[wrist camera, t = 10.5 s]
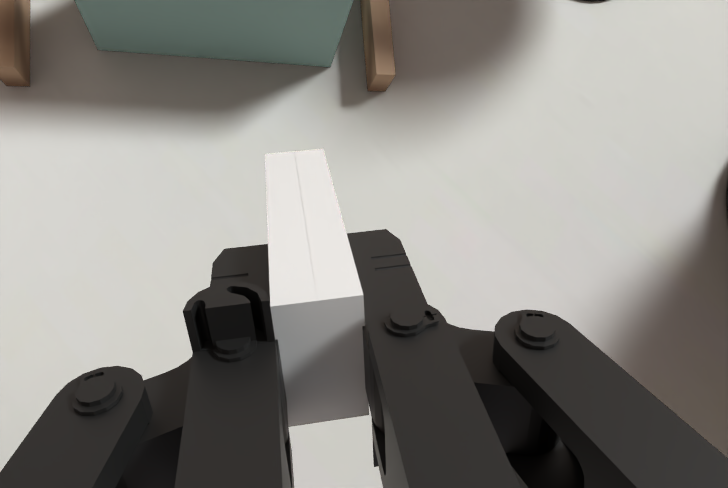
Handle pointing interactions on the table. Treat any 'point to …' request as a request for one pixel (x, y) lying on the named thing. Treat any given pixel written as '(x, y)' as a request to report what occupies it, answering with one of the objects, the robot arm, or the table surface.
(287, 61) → the muted teal t-block
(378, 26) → the walnut bay
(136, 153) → the table surface
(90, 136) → the table surface
